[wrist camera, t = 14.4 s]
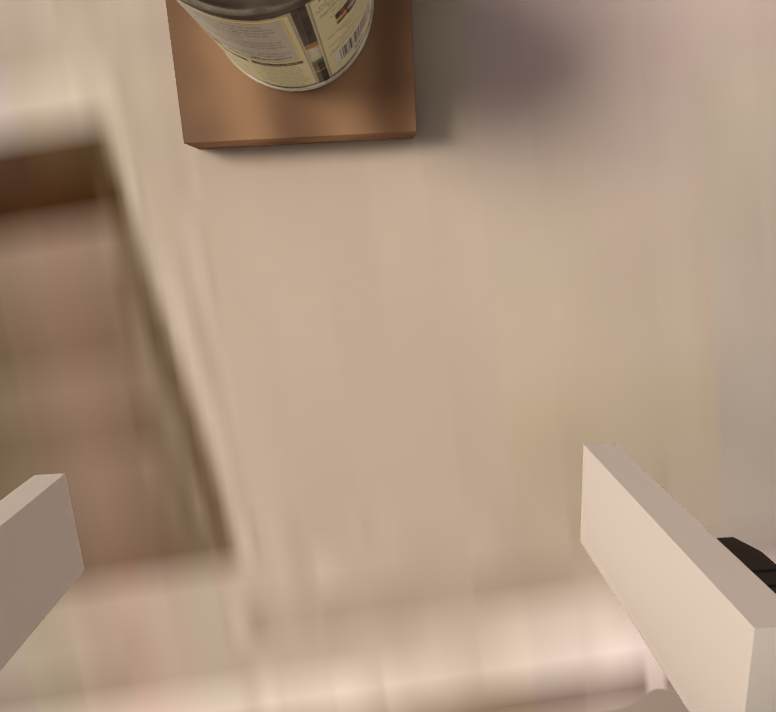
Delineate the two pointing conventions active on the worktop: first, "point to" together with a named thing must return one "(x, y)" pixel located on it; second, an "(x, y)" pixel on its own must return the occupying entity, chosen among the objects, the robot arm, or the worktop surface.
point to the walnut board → (298, 108)
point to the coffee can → (287, 37)
